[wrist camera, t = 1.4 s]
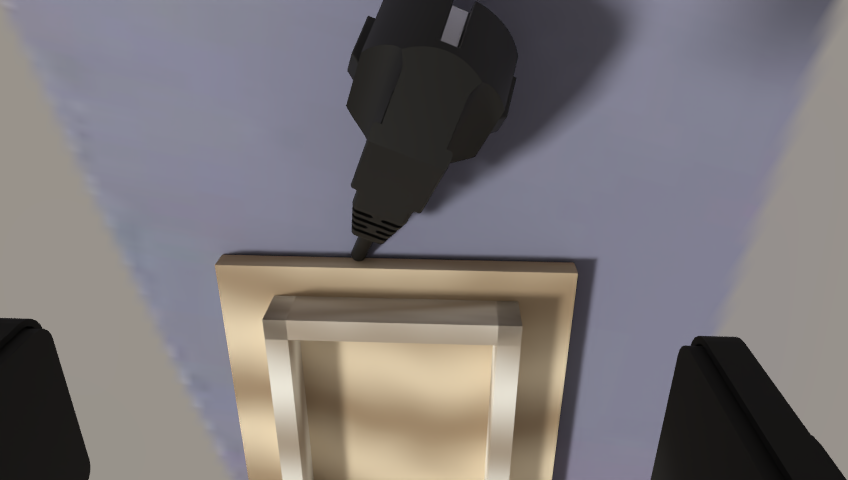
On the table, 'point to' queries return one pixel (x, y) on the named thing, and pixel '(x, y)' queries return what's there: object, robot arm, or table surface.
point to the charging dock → (397, 365)
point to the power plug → (422, 104)
